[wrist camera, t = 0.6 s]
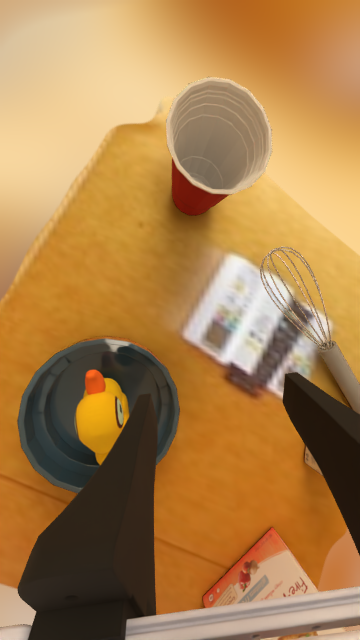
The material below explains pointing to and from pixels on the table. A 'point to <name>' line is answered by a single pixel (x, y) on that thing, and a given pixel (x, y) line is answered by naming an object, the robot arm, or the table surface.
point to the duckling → (101, 414)
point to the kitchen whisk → (329, 350)
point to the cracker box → (264, 579)
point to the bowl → (68, 390)
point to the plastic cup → (215, 143)
